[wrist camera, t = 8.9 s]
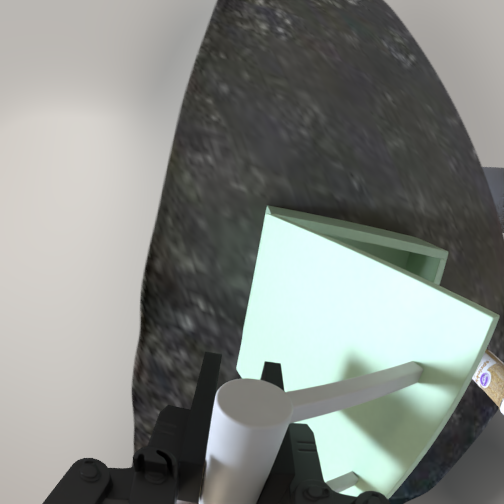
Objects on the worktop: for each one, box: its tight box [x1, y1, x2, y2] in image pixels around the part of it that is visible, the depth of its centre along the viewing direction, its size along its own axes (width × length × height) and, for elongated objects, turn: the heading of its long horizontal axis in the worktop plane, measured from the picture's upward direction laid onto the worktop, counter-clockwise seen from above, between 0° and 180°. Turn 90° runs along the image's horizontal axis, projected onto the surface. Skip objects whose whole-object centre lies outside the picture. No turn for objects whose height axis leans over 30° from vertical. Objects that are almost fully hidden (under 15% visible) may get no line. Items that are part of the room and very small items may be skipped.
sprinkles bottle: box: [472, 349, 504, 415], centre depth 28 cm, size 5×5×13 cm
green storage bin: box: [243, 205, 449, 332], centre depth 29 cm, size 17×14×7 cm
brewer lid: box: [199, 213, 499, 504], centre depth 15 cm, size 17×14×9 cm
